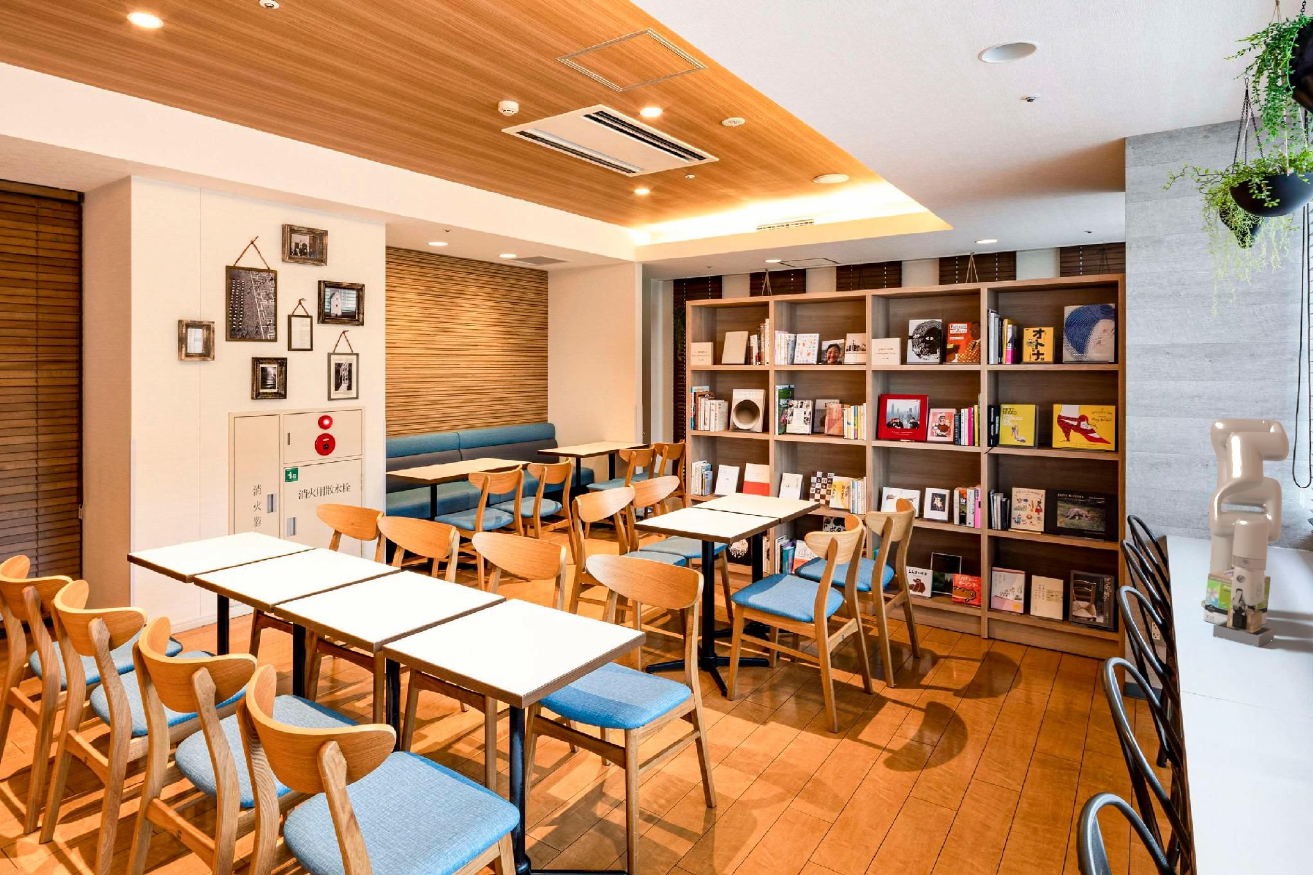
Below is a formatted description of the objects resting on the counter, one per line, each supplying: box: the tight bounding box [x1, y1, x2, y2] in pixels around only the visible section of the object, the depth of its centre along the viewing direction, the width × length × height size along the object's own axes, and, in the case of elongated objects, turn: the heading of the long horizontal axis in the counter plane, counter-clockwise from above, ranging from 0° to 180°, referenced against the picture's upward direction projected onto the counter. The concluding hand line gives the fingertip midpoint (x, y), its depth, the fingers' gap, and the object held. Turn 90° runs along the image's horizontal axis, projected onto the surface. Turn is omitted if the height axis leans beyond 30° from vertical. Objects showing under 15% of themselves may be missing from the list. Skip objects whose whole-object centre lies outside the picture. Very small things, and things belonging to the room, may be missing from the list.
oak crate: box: [1227, 607, 1263, 633], centre depth 213 cm, size 6×6×5 cm
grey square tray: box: [1212, 620, 1275, 648], centre depth 213 cm, size 11×11×3 cm
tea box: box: [1203, 569, 1271, 625], centre depth 226 cm, size 15×10×15 cm
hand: (1243, 625), depth 213 cm, fingers closed on oak crate, 5 cm apart
